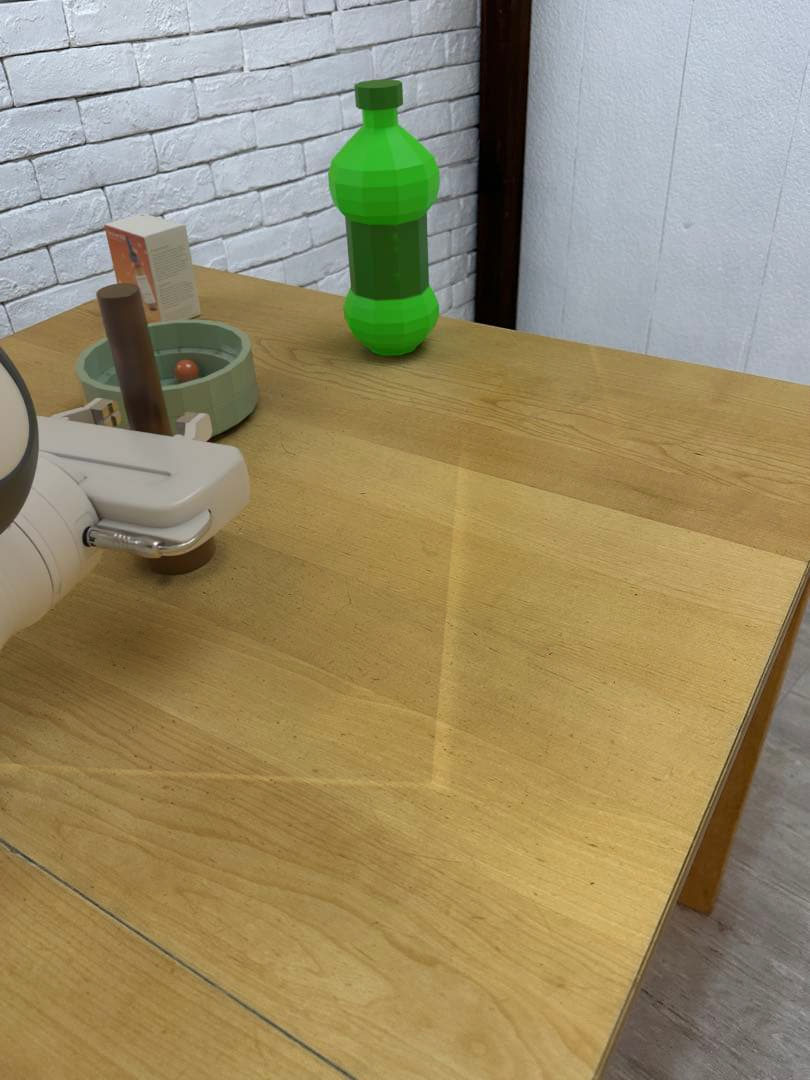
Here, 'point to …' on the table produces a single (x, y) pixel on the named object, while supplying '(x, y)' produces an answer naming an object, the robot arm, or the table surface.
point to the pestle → (142, 391)
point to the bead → (186, 371)
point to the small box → (155, 265)
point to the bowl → (216, 392)
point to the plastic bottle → (386, 224)
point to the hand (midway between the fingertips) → (155, 414)
